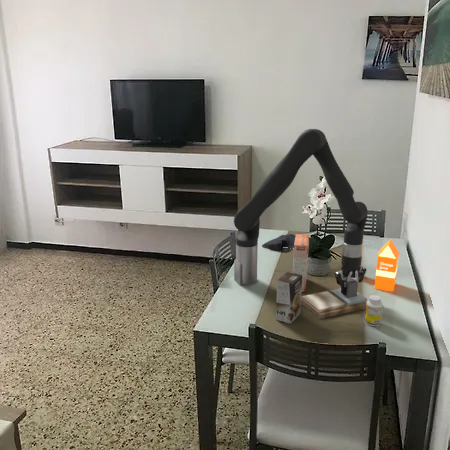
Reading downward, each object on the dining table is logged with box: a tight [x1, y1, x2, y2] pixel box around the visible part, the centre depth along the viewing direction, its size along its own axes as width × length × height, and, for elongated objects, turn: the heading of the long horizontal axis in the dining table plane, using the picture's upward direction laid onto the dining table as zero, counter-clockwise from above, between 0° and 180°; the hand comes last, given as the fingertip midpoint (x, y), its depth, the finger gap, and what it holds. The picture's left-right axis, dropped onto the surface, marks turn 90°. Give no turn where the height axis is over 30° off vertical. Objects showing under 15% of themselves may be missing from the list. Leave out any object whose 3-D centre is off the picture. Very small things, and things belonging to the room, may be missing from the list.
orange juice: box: [374, 238, 400, 292], centre depth 198 cm, size 8×9×20 cm
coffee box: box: [275, 271, 302, 325], centre depth 175 cm, size 9×6×16 cm
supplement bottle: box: [364, 294, 384, 327], centre depth 171 cm, size 6×6×10 cm
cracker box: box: [292, 233, 310, 293], centre depth 200 cm, size 14×6×21 cm, turn 168°
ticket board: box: [301, 287, 367, 319], centre depth 186 cm, size 22×16×3 cm
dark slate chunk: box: [261, 233, 296, 253], centre depth 250 cm, size 15×22×5 cm
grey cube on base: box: [330, 277, 368, 305], centre depth 187 cm, size 9×12×7 cm
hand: (348, 293), depth 188 cm, fingers closed on grey cube on base, 4 cm apart
